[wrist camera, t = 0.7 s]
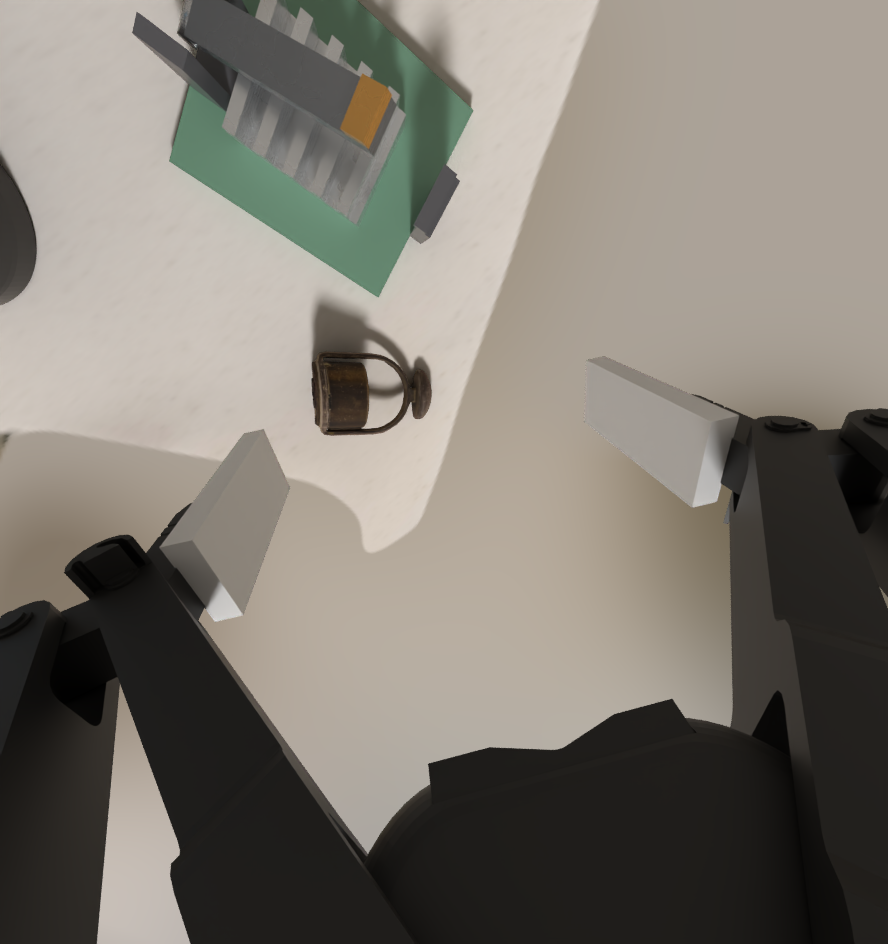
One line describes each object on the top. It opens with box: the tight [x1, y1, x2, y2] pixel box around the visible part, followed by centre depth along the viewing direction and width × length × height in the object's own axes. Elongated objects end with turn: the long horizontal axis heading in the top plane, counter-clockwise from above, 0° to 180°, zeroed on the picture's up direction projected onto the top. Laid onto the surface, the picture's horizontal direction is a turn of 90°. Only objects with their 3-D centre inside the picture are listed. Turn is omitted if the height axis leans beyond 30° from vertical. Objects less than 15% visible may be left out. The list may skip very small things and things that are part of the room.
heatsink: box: [222, 0, 406, 228], centre depth 27 cm, size 10×8×5 cm
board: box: [169, 0, 473, 297], centre depth 30 cm, size 18×16×1 cm
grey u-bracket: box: [132, 0, 249, 112], centre depth 24 cm, size 3×6×7 cm, turn 147°
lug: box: [410, 164, 460, 244], centre depth 30 cm, size 1×4×9 cm, turn 147°
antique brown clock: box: [312, 352, 432, 436], centre depth 38 cm, size 7×13×10 cm
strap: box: [177, 0, 397, 156], centre depth 20 cm, size 16×3×1 cm
